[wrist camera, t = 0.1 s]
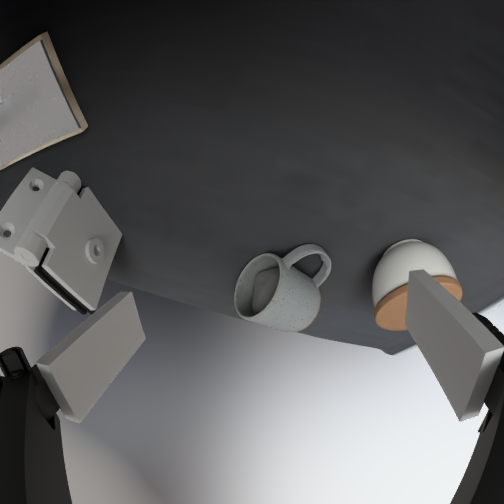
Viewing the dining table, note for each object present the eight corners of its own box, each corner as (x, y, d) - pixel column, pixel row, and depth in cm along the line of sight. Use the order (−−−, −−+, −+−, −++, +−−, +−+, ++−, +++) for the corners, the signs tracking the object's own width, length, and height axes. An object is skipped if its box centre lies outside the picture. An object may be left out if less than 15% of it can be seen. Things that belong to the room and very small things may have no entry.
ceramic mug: (280, 294, 41) (282, 346, 36) (234, 270, 37) (230, 327, 32) (343, 259, 35) (354, 316, 30) (298, 225, 31) (305, 289, 26)
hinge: (29, 169, 25) (-19, 240, 18) (53, 145, 23) (-3, 220, 16) (108, 245, 34) (82, 317, 28) (137, 232, 32) (111, 310, 26)
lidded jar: (457, 231, 30) (484, 298, 24) (416, 281, 38) (431, 341, 32) (386, 218, 29) (410, 296, 23) (351, 276, 37) (361, 344, 31)
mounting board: (-47, 112, 16) (-53, 117, 16) (47, 31, 14) (40, 34, 13) (-12, 174, 24) (-16, 179, 23) (88, 125, 21) (83, 131, 21)
